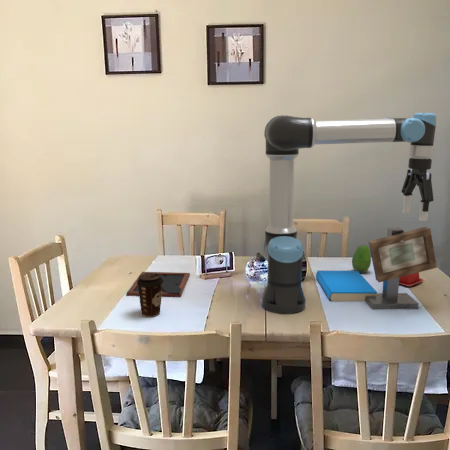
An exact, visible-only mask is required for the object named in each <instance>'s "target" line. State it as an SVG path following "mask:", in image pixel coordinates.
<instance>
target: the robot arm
mask: <svg viewBox="0 0 450 450" xmlns="http://www.w3.org/2000/svg"><path fill="white" fill-rule="evenodd" d="M436 128H437V115H436V113H434V112H415V113H414V114H413V116H412V117H402V118H401V117H382V118H372V119H371V118H366V119H365V118H363V119H335V120H334V119H332V120H328V119H327V120H314V118H313V117H299V116H292V115H288V114H287V115H282V114H281V115H277V116H274V117H273V118H271V119H270V120H269V121H268V122H267V124H266V126H265V127H264V132H263V133H264V134H263V135H264V139H265V157H267V158H268V159H269V207H268V208H269V212H268V214H269V216H268V217H269V219H268V220H269V223H268V225H267V227H266V228H265V229H264V242H263V251H264V254H265V256H266V260H267V284H266V286H265V288H264V291H263V295H262V297H261V306H262V307H263V309H265V310H267V311H269V312H271V313H276V314H284V313H289V314H296V313H295V312H297V313H300V312H302V311H304V310H305V309H306V305H307V304H306V303H307V302H306V298H305V295H304V289H303V286H302V275H303V274H302V273H303V257H304V249H303V248H304V247H303V246H304V245H303V242H301V240H300V239H298V237H297V236H298V229H297V227H295V226H294V225H293V224H294V183H295V181H294V179H295V178H294V177H295V159H296V158H297V157H298V156H299V151H300V149H312V148H313V147H314V146H316V145H340V144H366V143H367V144H368V143H370V144H371V143H372V144H373V143H405V142H406V143H410V145H409V146H410V147H409V155H408V156H409V159H408V165H407V166H408V167H407V168H408V169H407V172H406V176H405V180H404V182H403V186H402V189H401V192H400V193H402V194H403V204H402V214H411V210H412V200H413V192H414V190H415V188H416V186H418V189H419V193H420V197H421V199H420V207H419V215H418V221H420V222H422V221H423V222H425V221H426V222H427V221H428V218H429V217H428V216H429V211H430V210H429V207H430V203H431V202H434V192H433V183H432V173H431V172H428V171H427V170H431V169H432V162H433V161H432V160H433V159H432V157H433V153H434V141H435V134H436ZM304 308H305V309H304ZM303 309H304V310H303ZM299 311H300V312H299Z"/></svg>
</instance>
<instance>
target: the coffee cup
mask: <svg viewBox="0 0 450 450" xmlns="http://www.w3.org/2000/svg"><path fill="white" fill-rule="evenodd" d="M138 277H139V276H138ZM162 283H163V279H162V277H160V275H159V274H157V273H154V274H153V273H147V274H143V275H141V276H140V277H139V279H138V281H137V285H138V290H139V296H138V297H139V305H140V315H141V316H142V317H145V318H146V317H148V318H149V317H151V318H152V317H156V316H159V315H160V314H161V306H162V305H161V304H162V297H161V296H162V286H161V284H162Z"/></svg>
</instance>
